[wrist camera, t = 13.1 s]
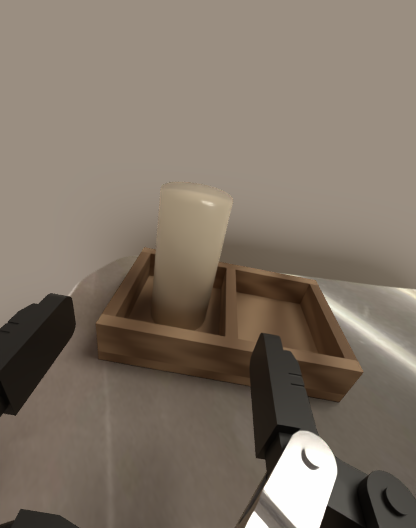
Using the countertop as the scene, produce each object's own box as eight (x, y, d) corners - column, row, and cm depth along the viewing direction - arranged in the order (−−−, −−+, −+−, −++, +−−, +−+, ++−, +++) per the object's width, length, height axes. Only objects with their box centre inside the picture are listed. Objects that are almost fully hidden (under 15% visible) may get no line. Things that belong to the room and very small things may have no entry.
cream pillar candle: (207, 300, 27) (232, 190, 21) (203, 338, 22) (233, 212, 16) (158, 290, 27) (169, 177, 21) (143, 327, 22) (152, 195, 16)
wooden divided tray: (302, 306, 31) (315, 280, 29) (339, 401, 21) (363, 372, 19) (142, 276, 30) (144, 247, 28) (98, 359, 20) (95, 323, 18)
